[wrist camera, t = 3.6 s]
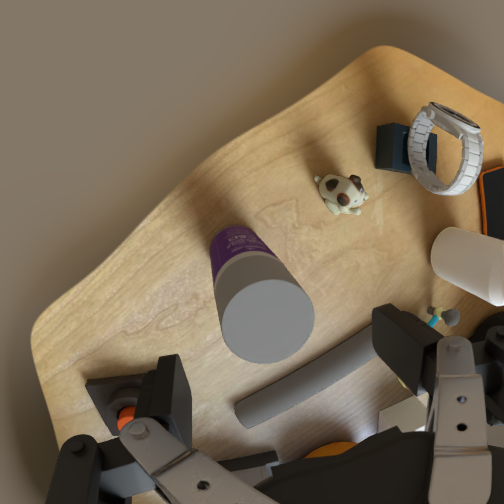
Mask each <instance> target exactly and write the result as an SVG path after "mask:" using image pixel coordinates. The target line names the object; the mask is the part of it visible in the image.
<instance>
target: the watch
mask: <svg viewBox="0 0 504 504" xmlns="http://www.w3.org/2000/svg"><path fill="white" fill-rule="evenodd" d="M433 125H436V126H438V127H439V128H441V129H443V130H445V131H446V132H448V133H450V134H452V135H454V136H455V137H456V138H458V139H460V140H461V139H462V146H463V148H462V158H463V159H462V160H461V163H460V167H459V168H460V170H458V172H457V174H456V176H455V178H454V179H453V180H452V182H451V183H450V185H445V184H444V183H443V182H441V181H440V180H439V179H438V178H437V176H436V159H437V134H434V133H430V131H431V129H432V128H433ZM480 130H481V128H480V127H479V126H478V125H477V124H476V123H474V122H473V121H472V120H470V119H469V118H467V117H465V116H464V115H462V114H460V113H458V112H456V111H455V110H452V109H450V108H448V107H446V106H443V105H441V104H438V103H434V102H429V106H423V107H422V108H421V110H420V112H418V114H417V115H416V117H415V119H414V120H413V122H412V125H411V127H409V126H405V125H401V124H397V123H390V124H385V125H381V126H377V144H376V165H375V168H376V169H382V170H389V171H395V172H400V173H406V174H412V175H414V177H415V178H416V179H417V181H418V182H419V183H420V184H421V185H422V186H423V187H424V188H426V189H427V190H429V191H430V192H432V193H435V194H440V195H446V196H449V195H460V194H462V193H464V192H466V191H467V190H468V189H469V188H470V187H471V186H472V185H473V184H474V182H475V181H476V179H477V177H478V175H479V173H480V170H481V166H482V165H481V164H482V161H483V144H484V142H483V139H482V137H481V135H480V133H479V132H480ZM465 159H466V160H465ZM478 163H479V164H478ZM470 164H471V165H470ZM473 165H474V166H473Z"/></svg>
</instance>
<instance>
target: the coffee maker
mask: <svg viewBox="0 0 504 504" xmlns="http://www.w3.org/2000/svg"><path fill="white" fill-rule="evenodd" d="M217 463H218V464H220V465H221V466H222V467H224V468H225V469H227V470H228V471H229V472H231V473H232V474H234V475H235V476H237V477H238V478H240V479H241V480H243V481H244V482H246V483H247V484H249V485H250V486H252V487H253V486H255V485H256V484H258V483H259V482H261V481H262V480H264V479H266V478H268V477H270V476H272V471H271V466H276V465H279V460H278V457H277V454H276V451H271V452H267V453H262V454H258V455H253V456H248V457H243V458H238V459H232V460H226V461H220V462H217Z"/></svg>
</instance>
